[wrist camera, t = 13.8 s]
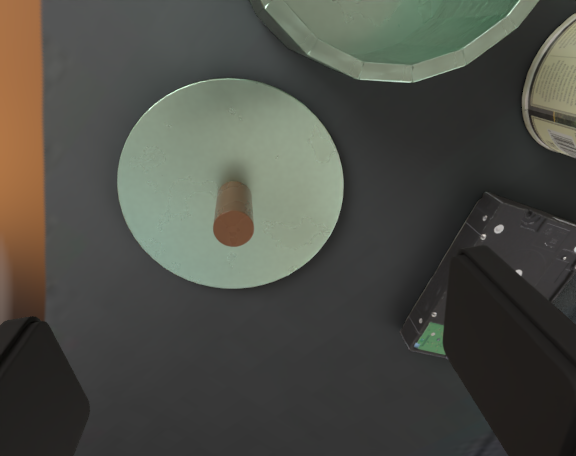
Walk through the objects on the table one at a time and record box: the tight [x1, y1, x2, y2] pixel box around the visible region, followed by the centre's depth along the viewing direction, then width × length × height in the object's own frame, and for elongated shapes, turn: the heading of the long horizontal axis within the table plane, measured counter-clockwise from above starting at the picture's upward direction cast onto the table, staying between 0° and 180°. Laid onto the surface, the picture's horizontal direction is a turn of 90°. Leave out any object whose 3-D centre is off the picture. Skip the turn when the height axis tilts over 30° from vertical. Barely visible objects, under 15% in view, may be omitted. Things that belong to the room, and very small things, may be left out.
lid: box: [117, 77, 344, 289], centre depth 26 cm, size 16×16×6 cm
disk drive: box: [400, 192, 576, 359], centre depth 34 cm, size 10×3×15 cm
